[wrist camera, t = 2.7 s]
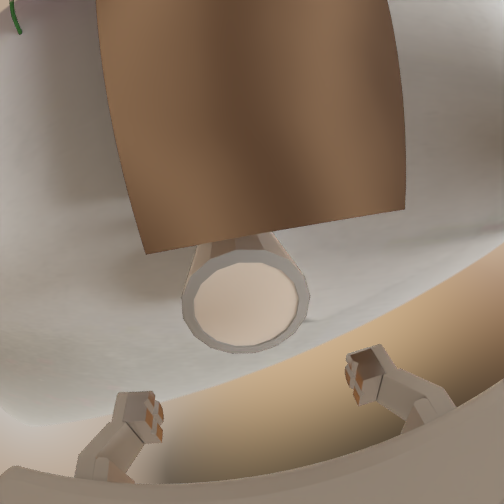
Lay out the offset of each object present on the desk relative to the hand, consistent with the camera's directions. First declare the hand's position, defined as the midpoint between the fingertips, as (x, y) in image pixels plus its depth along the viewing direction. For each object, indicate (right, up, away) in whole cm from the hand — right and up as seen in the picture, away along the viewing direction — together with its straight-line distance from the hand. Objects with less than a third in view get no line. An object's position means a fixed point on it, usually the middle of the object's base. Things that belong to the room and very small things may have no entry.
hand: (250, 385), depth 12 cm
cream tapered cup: (-1, +6, +11) cm, 12 cm away
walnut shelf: (-1, +18, +4) cm, 19 cm away
